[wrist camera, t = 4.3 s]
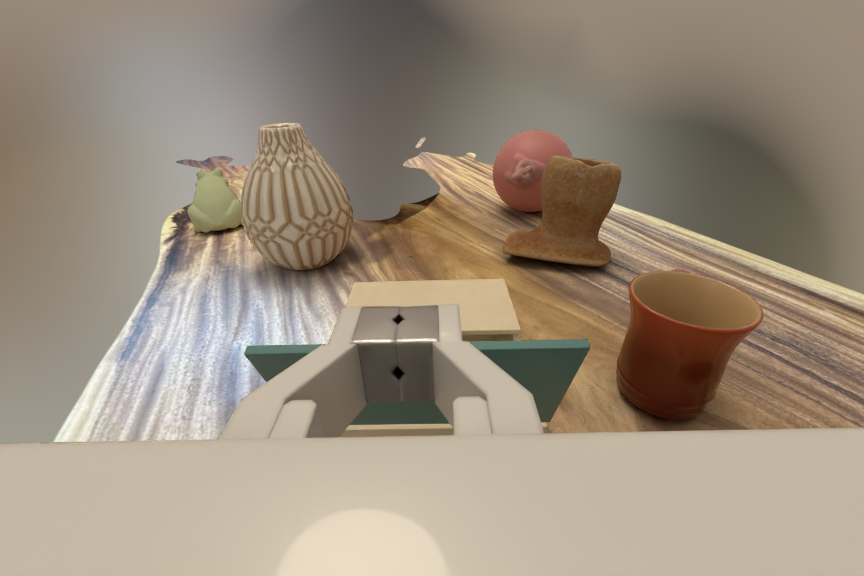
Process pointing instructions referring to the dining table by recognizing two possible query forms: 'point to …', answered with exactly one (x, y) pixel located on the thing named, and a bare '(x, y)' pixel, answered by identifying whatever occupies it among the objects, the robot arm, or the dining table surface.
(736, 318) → the mug
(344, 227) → the vase
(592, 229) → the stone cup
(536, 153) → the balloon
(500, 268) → the dining table surface
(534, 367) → the flap
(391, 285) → the carton
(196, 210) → the figurine
